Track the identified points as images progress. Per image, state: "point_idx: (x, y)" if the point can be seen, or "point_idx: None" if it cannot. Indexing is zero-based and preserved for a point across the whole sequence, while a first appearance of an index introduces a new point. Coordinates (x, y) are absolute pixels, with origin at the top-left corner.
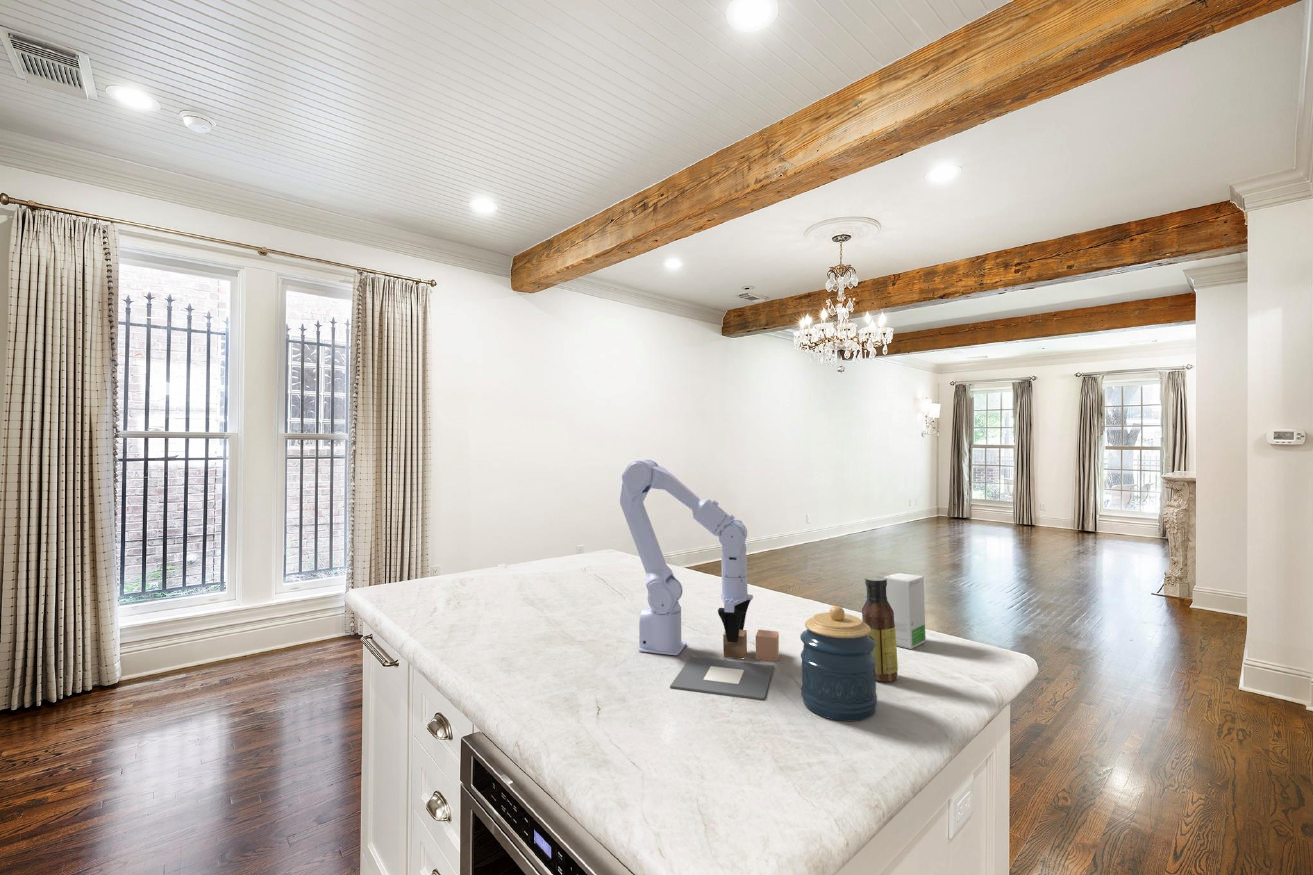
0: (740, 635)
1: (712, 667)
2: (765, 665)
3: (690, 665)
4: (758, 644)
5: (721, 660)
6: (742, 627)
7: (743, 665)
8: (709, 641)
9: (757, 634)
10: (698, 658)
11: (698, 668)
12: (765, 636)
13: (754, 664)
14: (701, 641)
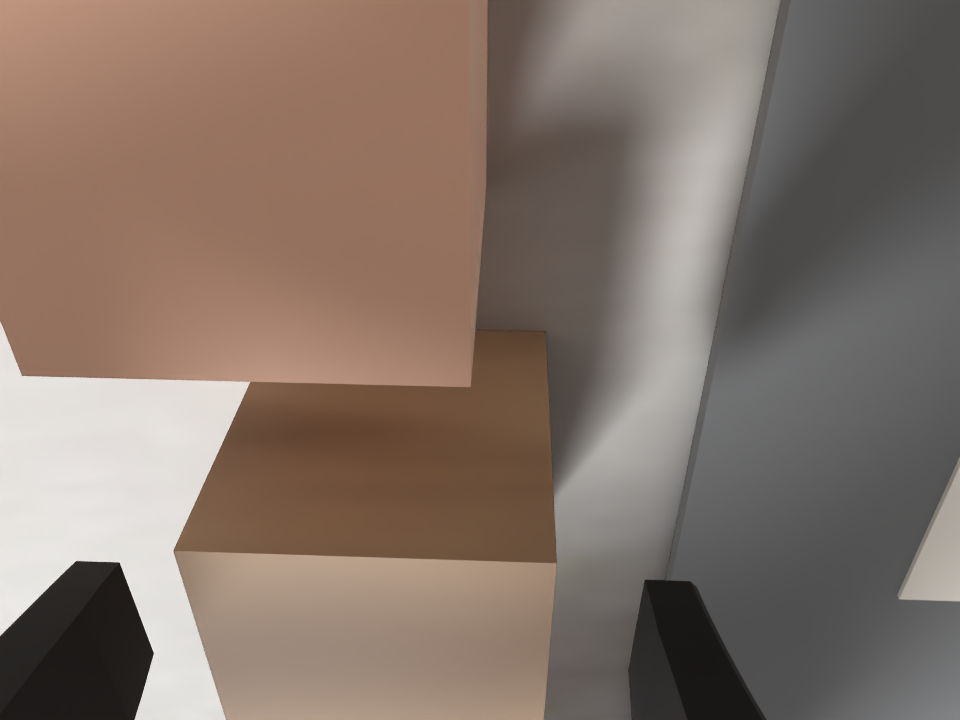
0: (510, 601)
1: (934, 583)
2: (837, 9)
3: (869, 717)
4: (478, 249)
5: (707, 537)
6: (91, 615)
7: (852, 316)
8: (155, 664)
9: (346, 362)
10: None
11: (943, 666)
12: (417, 184)
13: (804, 183)
14: (193, 710)
